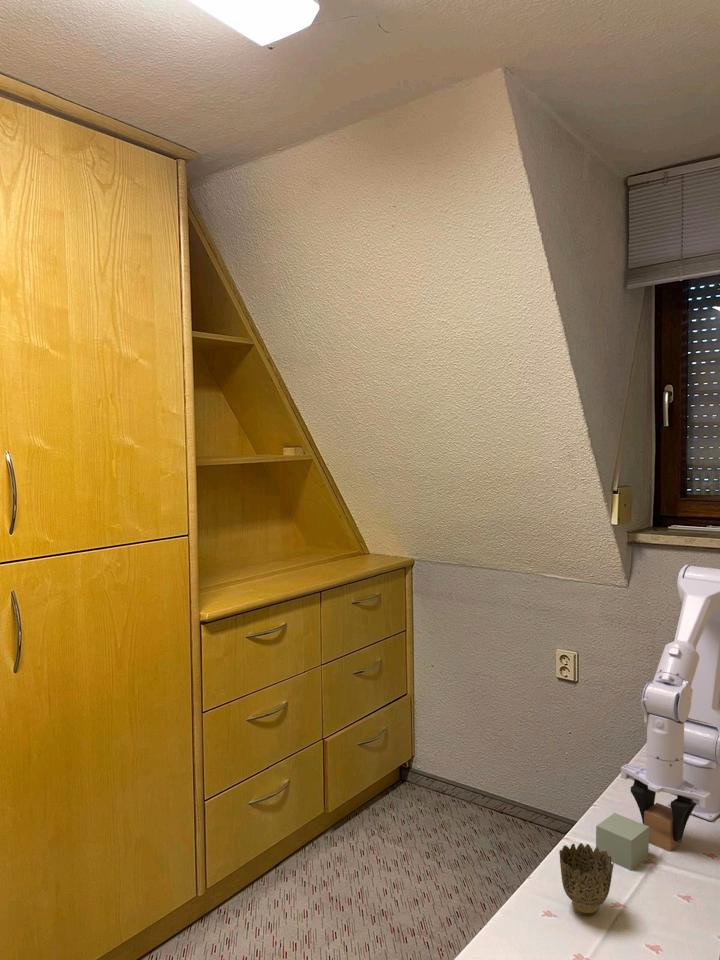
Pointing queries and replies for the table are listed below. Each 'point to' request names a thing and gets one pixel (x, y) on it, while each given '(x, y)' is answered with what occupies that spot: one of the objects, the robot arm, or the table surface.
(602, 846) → the grey block
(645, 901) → the table surface
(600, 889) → the cup
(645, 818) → the walnut block
